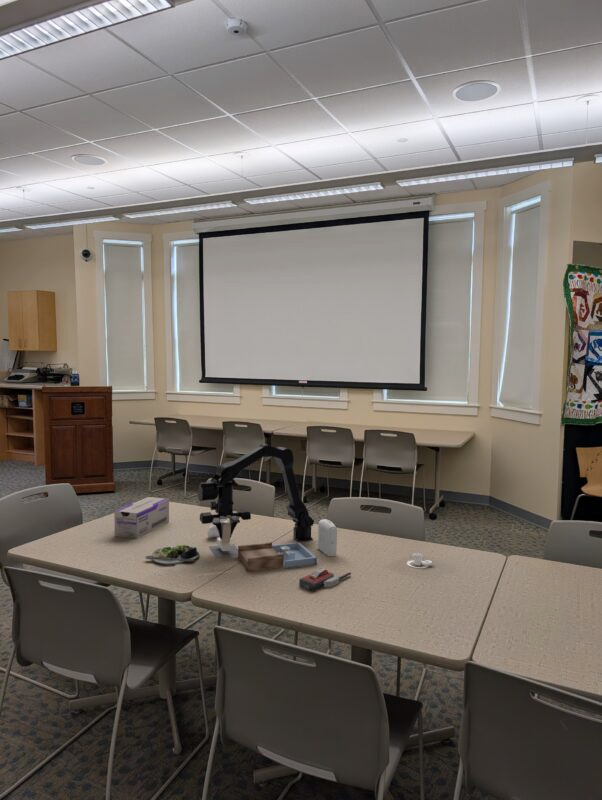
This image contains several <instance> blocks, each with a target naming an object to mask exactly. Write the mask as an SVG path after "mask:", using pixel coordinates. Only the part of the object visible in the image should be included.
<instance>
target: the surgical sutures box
mask: <svg viewBox="0 0 602 800" xmlns="http://www.w3.org/2000/svg"><path fill="white" fill-rule="evenodd" d="M113 515H114V536H116V537H123V538H131V539H139V538H141V537H143V536H145V535H147V534H148V533H150V532H153V531H154V530H156V529H158V528H160V527H162V526H163V524H164V525H166V524H167V522H168V523H169V522H170V498H164V497H163V498H162V497H155V496H154V497H152V496H151V497H150V496H147V497H145V498H143V499H140V500H137V501H135V502H132V503H130V504H128V505H125V506H123V507H119V508H118V509H116V510H114V514H113ZM165 523H166V524H165ZM161 525H162V526H161Z"/></svg>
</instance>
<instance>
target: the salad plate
mask: <svg viewBox="0 0 602 800" xmlns="http://www.w3.org/2000/svg"><path fill="white" fill-rule="evenodd" d="M199 558H200V553H199V551H198V548H197V546H196V547H195V546H193V545H188V544H187V545H186V544H180V545H176V546H168V547H167V546H165V547H160V548H157V549H155V550H153V552H152V556H151V555H147V556H145V559H146V560H150V561H154V562H155V563H158V564H160V565H167V566H171V565H176V564H188V563H192V562H195V561H197V560H199Z"/></svg>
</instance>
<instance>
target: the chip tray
mask: <svg viewBox="0 0 602 800" xmlns="http://www.w3.org/2000/svg"><path fill="white" fill-rule="evenodd" d="M284 546H288V547H289V548H290V551H293V552H294V553H295V559H293V560H285V557H284V567H283V568H284V569H293V568H294V569H295V568H302V567H307V566H308V567H309V566H316V565H318V560H317V559H318V558H317V556H315V554H313V553H312V552H311V551H310V550H309V549H307V547H305V546H304V545H303V544H302V543H301V542H300V541H297V542H289V543H280V544H278V543H277V544H272V547H273V548H274V549H275V550H276V551H277V552H278V553H279V554H280V547H284Z"/></svg>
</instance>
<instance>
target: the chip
mask: <svg viewBox="0 0 602 800" xmlns="http://www.w3.org/2000/svg"><path fill="white" fill-rule="evenodd" d="M285 551H290V548H289V547H288V546H284V547H280V554H284V557H285Z"/></svg>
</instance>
